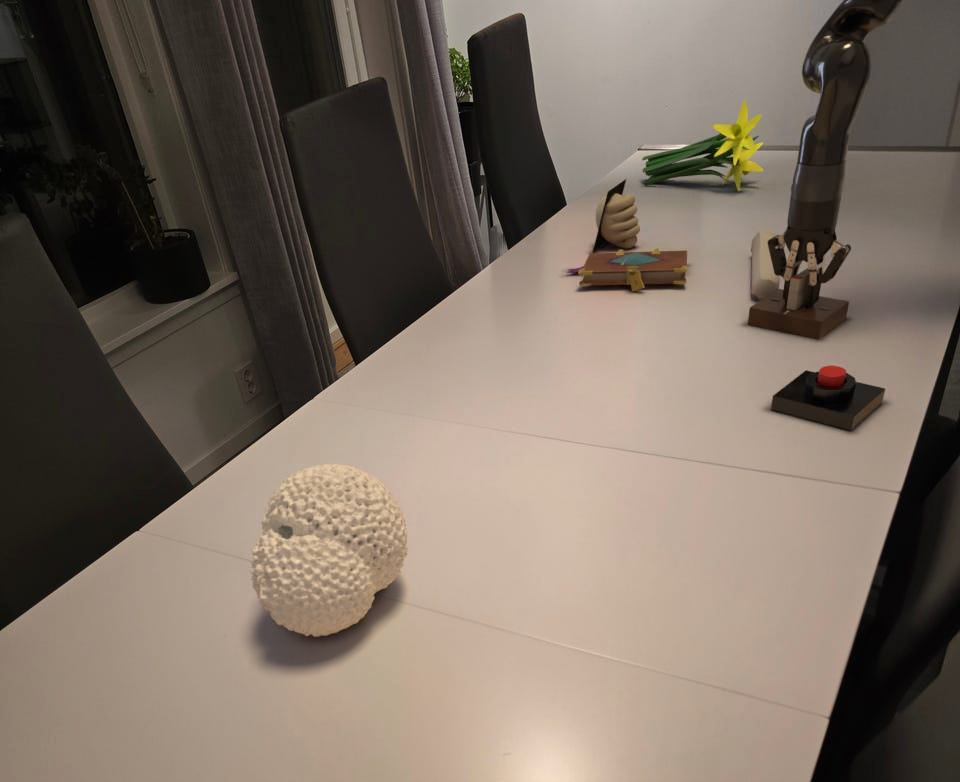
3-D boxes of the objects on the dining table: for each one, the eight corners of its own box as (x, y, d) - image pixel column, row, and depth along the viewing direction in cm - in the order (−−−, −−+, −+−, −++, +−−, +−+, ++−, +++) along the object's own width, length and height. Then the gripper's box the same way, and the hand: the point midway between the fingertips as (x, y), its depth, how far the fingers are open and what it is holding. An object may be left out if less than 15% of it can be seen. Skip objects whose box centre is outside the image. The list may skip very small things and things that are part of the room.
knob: (803, 297, 144) (808, 265, 140) (812, 299, 143) (817, 267, 139) (786, 309, 141) (790, 277, 137) (794, 310, 140) (799, 278, 136)
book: (568, 271, 177) (568, 245, 174) (688, 267, 171) (690, 241, 168) (556, 294, 164) (556, 267, 161) (685, 292, 159) (687, 264, 156)
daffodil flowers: (670, 175, 226) (794, 142, 201) (651, 219, 223) (774, 191, 199) (641, 123, 214) (769, 82, 190) (620, 169, 211) (748, 133, 187)
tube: (786, 280, 148) (783, 234, 166) (758, 271, 148) (758, 226, 166) (772, 309, 152) (771, 261, 169) (744, 299, 152) (746, 253, 169)
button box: (882, 402, 120) (888, 376, 117) (850, 431, 115) (856, 404, 112) (803, 383, 127) (807, 358, 124) (770, 409, 122) (774, 383, 119)
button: (848, 380, 118) (851, 368, 117) (836, 390, 116) (839, 378, 115) (824, 375, 120) (826, 363, 119) (812, 384, 118) (814, 372, 117)
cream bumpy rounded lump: (285, 481, 102) (295, 414, 87) (418, 533, 106) (450, 478, 90) (224, 627, 96) (223, 583, 81) (368, 678, 99) (393, 645, 84)
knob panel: (846, 318, 143) (850, 300, 141) (818, 339, 138) (821, 320, 136) (776, 305, 150) (778, 287, 148) (747, 324, 145) (749, 306, 143)
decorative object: (640, 250, 186) (623, 265, 180) (599, 234, 188) (580, 248, 182) (658, 190, 176) (640, 204, 170) (614, 174, 179) (595, 187, 172)
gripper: (871, 190, 128) (849, 304, 140) (786, 182, 136) (772, 290, 148) (849, 204, 125) (828, 319, 136) (763, 194, 132) (750, 304, 144)
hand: (799, 303), depth 142 cm, fingers open, 3 cm apart
